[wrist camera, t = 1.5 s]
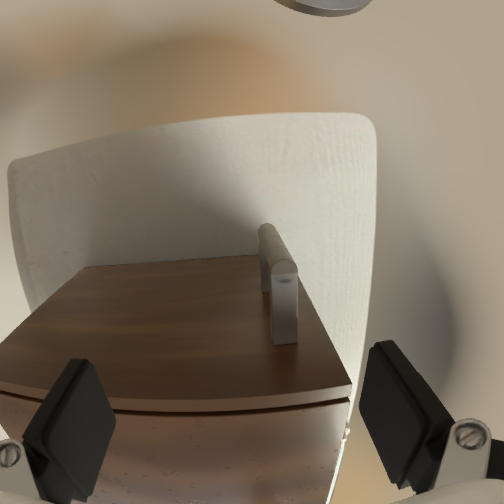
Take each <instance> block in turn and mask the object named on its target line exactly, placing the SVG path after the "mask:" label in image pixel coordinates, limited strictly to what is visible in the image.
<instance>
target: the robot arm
mask: <svg viewBox="0 0 504 504" xmlns="http://www.w3.org/2000/svg"><path fill="white" fill-rule="evenodd" d="M359 410H360V413H361V416H362V418H363V420H364V422H365V425H366V427H367V429H368V431H369V434H370V436H371V438H372V440H373V443H374V445H375V447H376V449H377V451H378V454H379V456H380V458H381V461H382V463H383V465H384V467H385V470H386V472H387V475H388V477H389V479H390V481H391V483H393V484H394V483H396V484H397V486H398V489H399V490H400V489H403V488H405V487H408V486H411V487H412V490H413V491H415V492H414V494H413V496H412V497H409V498H406V499H403V500H401V501H397V502H394V503H391V504H504V441H500V440H495V439H491V432H490V430H489V428H488V427H487V426H486V425H485V424H484V423H483V422H481V421H479V420H476V419H472V418H471V419H470V418H466V419H461V420H459V421H458V422H455V421H454V420H453V418H452V417H451V415H450V414H449V412H448V411H447V410H446V409H445V407H444V406H443V404H442V403H441V401H440V400H439V399H438V397H437V396H436V395H435V393H434V392H433V391H432V389H431V388H430V387H429V385H428V384H427V383H426V381H425V380H424V379H423V377H422V376H421V375H420V374H419V373H418V372H417V371H416V370H415V368H414V367H413V366H412V365H411V363H410V362H409V361H408V359H407V358H406V357H405V356H404V354H403V353H402V352H401V350H400V349H399V348H398V346H397V345H396V344H395V342H394V341H393V340H387V341H381V342H376V343H375V345H374V347H372V348H370V350H369V356H368V361H367V367H366V372H365V378H364V383H363V388H362V392H361V397H360V402H359ZM115 426H116V417H115V415H114V412H113V410H112V408H111V406H110V404H109V401H108V399H107V397H106V394H105V392H104V389H103V387H102V385H101V382H100V380H99V377H98V375H97V372H96V369H95V367H94V365H93V364H92V363H90V362H89V360H88V359H82V358H72V359H71V360H70V361H69V363H68V364H67V365H66V367H65V368H64V370H63V371H62V373H61V374H60V376H59V377H58V379H57V380H56V382H55V383H54V385H53V386H52V388H51V389H50V391H49V393H48V394H47V396H46V397H45V399H44V400H43V402H42V404H41V405H40V407H39V408H38V410H37V412H36V413H35V415H34V416H33V418H32V420H31V421H30V423H29V425H28V426H27V428H26V430H25V431H24V433H23V435H22V438H23V439H24V440H23V442H22V444H21V443H20V442H19V441H18V440H15V439H5V440H2V441H0V504H71V501H72V499H74V500H77V501H81V502H85V503H86V502H87V499H88V496H91V495H92V494H93V491H94V488H95V485H96V482H97V479H98V475H99V472H100V469H101V466H102V463H103V460H104V457H105V455H106V452H107V449H108V446H109V443H110V440H111V437H112V435H113V432H114V429H115Z"/></svg>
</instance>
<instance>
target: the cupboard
mask: <svg viewBox="0 0 504 504" xmlns="http://www.w3.org/2000/svg"><path fill="white" fill-rule="evenodd" d="M43 400H44V399H39V398H34V397H29V396H24V395H19V394H15V393H11V392H6V391H2V390H0V424H1V426H2V427H3V429H4V430H5V432H6V433H7V434H8V436H9V437H10V439H15V440H18V441H19V442H20V443H21V444H22V442H23V440H24V439H23V438H22V435H23V433H24V431H25V430H26V428H27V426H28V425H29V423H30V421H31V420H32V418H33V416H34V415H35V413H36V412H37V410H38V408H39V407H40V405H41V404H42V402H43ZM349 405H350V400H349V398H348V397H343V398H338V399H332V400H326V401H319V402H313V403H306V404H298V405H290V406H282V407H272V408H262V409H249V410H234V411H211V412H160V411H137V410H122V409H112V410H113V412H114V415H115V417H116V426H115V429H114V432H113V435H112V437H111V440H110V443H109V446H108V449H107V452H106V455H105V457H104V460H103V463H102V466H101V469H100V472H99V475H98V479H97V482H96V485H95V488H94V491H93V494H92V495H91V496H88V499H87V502H86V503H85V502H81V501H77V500H74V499H72V501H71V504H326V501H327V497H328V494H329V490H330V487H331V483H332V479H333V476H334V472H335V468H336V464H337V460H338V456H339V452H340V448H341V443H342V439H343V434H344V430H345V425H346V420H347V415H348V410H349Z"/></svg>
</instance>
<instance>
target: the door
mask: <svg viewBox="0 0 504 504" xmlns="http://www.w3.org/2000/svg"><path fill="white" fill-rule="evenodd" d="M258 242H259V255H246V256H233V257H219V258H206V259H192V260H179V261H165V262H152V263H138V264H124V265H110V266H96V267H85V268H83V269H82V270H81V271H80V272H79V273H77V274H76V275H75V276H74V277H73V278H71V279H70V280H69V281H68V282H67V283H66V284H64V285H63V286H62V287H61V288H60V289H59V290H57V291H56V292H55V293H54V294H53V295H52V296H51V297H49V298H48V299H47V300H46V301H45V302H44V303H43V304H42V305H41V306H39V307H38V308H37V309H36V310H35V311H34V312H33V313H32V314H31V315H30V316H29V317H27V318H26V319H25V320H24V321H23V322H22V323H21V324H20V325H19V326H18V327H17V328H16V329H15V330H14V331H13V332H12V333H11V334H10V335H9V336H8V337H7V338H6V339H5V340H4V341H3V342H1V343H0V390H2V391H6V392H11V393H15V394H19V395H24V396H29V397H34V398H39V399H45V397H46V396H47V394H48V393H49V391H50V389H51V388H52V386H53V385H54V383H55V382H56V380H57V379H58V377H59V376H60V374H61V373H62V371H63V370H64V368H65V367H66V365H67V364H68V363H69V361H70V360H71V359H72V358H82V359H88V360H89V362H90V363H92V364H93V365H94V367H95V369H96V372H97V375H98V377H99V380H100V382H101V385H102V387H103V389H104V392H105V394H106V397H107V399H108V401H109V404H110V406H111V408H112V409H122V410H137V411H160V412H211V411H234V410H249V409H262V408H272V407H282V406H290V405H298V404H306V403H313V402H319V401H326V400H332V399H338V398H343V397H348V396H350V394H351V388H352V382H351V380H350V378H349V376H348V374H347V372H346V370H345V368H344V366H343V364H342V362H341V360H340V358H339V356H338V354H337V352H336V350H335V348H334V346H333V344H332V342H331V340H330V338H329V336H328V334H327V332H326V330H325V328H324V326H323V324H322V322H321V320H320V318H319V316H318V314H317V312H316V310H315V308H314V306H313V304H312V302H311V300H310V298H309V296H308V294H307V292H306V291H305V289H304V287H303V285H302V283H301V281H300V279H299V277H298V269H297V266H296V264H295V262H294V260H293V259H292V257H291V255H290V253H289V252H288V250H287V248H286V246H285V244H284V243H283V241H282V239H281V237H280V236H279V234H278V232H277V230H276V229H275V227H274V226H273V225H272V224H268V223H266V224H263V225H261V226H260V228H259V230H258Z"/></svg>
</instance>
